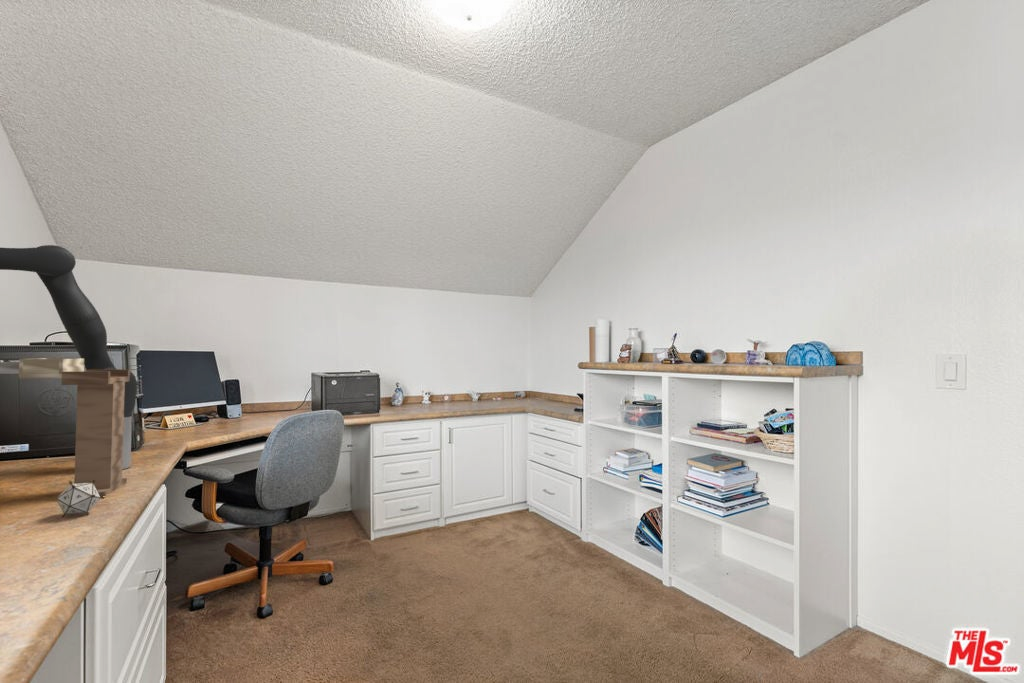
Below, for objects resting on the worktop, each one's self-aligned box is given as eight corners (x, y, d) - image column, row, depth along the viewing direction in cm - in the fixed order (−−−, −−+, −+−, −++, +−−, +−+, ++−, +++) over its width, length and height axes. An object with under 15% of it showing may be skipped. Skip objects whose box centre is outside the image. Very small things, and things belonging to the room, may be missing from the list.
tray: (4, 376, 134) (4, 358, 134) (83, 375, 140) (84, 358, 140) (-26, 378, 123) (-26, 358, 123) (62, 377, 129) (62, 359, 129)
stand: (84, 486, 141) (88, 369, 142) (126, 483, 144) (129, 369, 145) (57, 501, 127) (61, 371, 128) (104, 497, 130) (108, 371, 131)
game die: (78, 532, 115) (64, 506, 110) (52, 517, 117) (37, 490, 111) (116, 504, 122) (105, 479, 117) (91, 490, 124) (79, 464, 119)
